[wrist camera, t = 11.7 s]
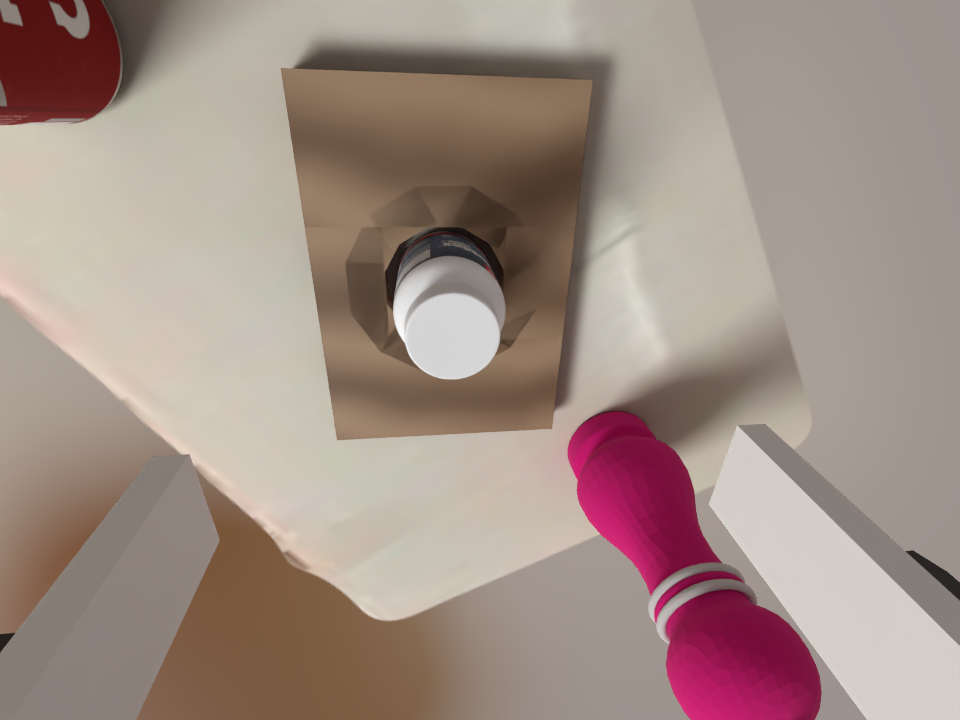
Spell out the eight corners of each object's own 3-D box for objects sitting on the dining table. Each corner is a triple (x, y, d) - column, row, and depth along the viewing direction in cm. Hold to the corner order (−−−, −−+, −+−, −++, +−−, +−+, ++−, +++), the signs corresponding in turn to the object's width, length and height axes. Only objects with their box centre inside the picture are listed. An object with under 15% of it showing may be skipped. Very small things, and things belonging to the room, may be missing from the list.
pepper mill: (645, 390, 32) (919, 718, 15) (661, 462, 36) (900, 798, 18) (548, 426, 33) (701, 785, 15) (574, 494, 36) (722, 851, 18)
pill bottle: (507, 270, 27) (543, 332, 19) (449, 333, 28) (461, 414, 21) (438, 208, 25) (447, 249, 17) (379, 279, 26) (362, 347, 18)
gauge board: (289, 71, 21) (280, 68, 20) (582, 82, 23) (592, 79, 21) (341, 425, 30) (337, 439, 29) (546, 415, 32) (551, 428, 31)
